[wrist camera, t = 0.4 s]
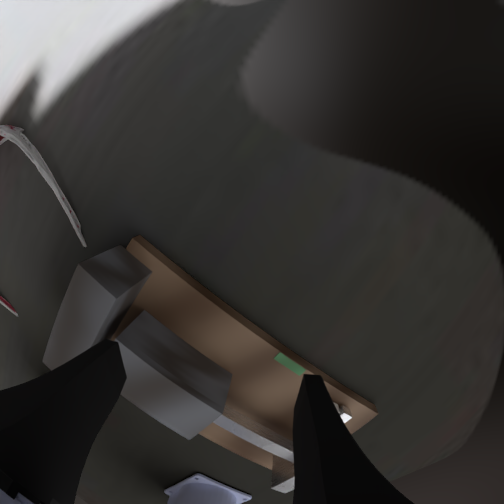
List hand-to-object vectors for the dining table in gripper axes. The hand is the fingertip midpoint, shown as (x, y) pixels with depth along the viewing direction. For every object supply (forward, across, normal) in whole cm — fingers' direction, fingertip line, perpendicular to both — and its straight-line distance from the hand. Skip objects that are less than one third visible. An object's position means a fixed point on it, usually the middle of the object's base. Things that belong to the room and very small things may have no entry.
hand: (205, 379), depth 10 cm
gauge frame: (+9, +1, +10) cm, 13 cm away
